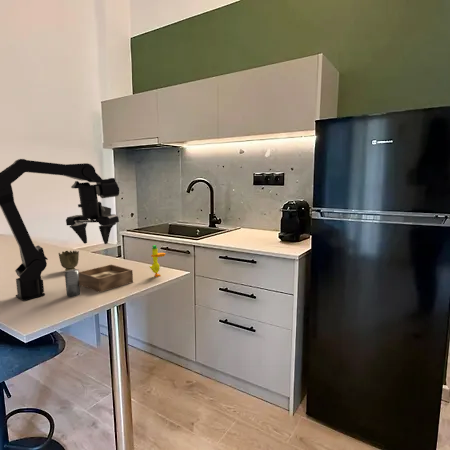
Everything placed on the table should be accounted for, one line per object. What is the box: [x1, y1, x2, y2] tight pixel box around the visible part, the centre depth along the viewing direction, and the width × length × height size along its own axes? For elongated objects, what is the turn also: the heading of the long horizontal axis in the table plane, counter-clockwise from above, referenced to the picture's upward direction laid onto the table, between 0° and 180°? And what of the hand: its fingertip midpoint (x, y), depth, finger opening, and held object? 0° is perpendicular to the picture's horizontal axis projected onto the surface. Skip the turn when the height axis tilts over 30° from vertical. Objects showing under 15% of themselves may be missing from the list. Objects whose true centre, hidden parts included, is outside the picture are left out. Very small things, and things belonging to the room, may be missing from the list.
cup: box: [58, 250, 80, 272], centre depth 133 cm, size 8×7×8 cm
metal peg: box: [64, 268, 81, 298], centre depth 106 cm, size 4×4×8 cm
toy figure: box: [148, 244, 167, 278], centre depth 125 cm, size 7×4×12 cm, turn 119°
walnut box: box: [79, 264, 134, 293], centre depth 117 cm, size 13×13×4 cm
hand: (95, 243), depth 117 cm, fingers open, 9 cm apart
